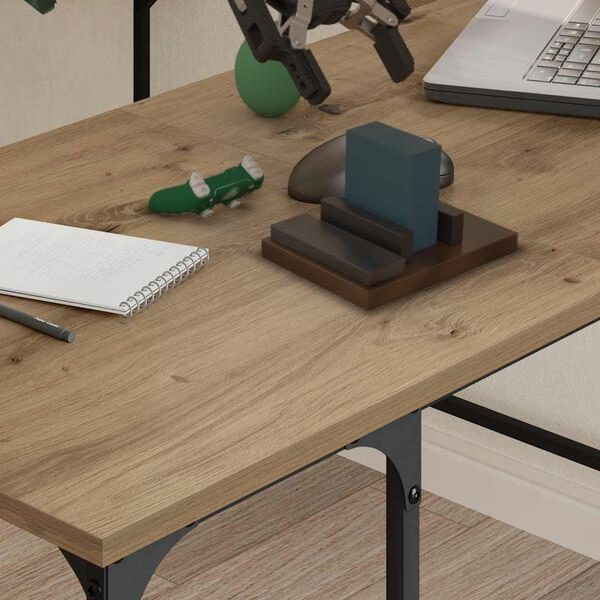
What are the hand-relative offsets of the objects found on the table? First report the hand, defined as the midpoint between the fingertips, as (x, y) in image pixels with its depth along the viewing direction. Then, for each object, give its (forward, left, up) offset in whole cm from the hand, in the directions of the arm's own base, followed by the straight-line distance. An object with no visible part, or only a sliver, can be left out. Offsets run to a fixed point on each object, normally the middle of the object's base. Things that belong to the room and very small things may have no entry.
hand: (365, 88), depth 106 cm
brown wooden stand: (+1, -3, -12) cm, 13 cm away
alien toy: (+7, +30, -13) cm, 33 cm away
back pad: (+1, -3, -11) cm, 11 cm away
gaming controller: (-8, +11, -13) cm, 19 cm away
